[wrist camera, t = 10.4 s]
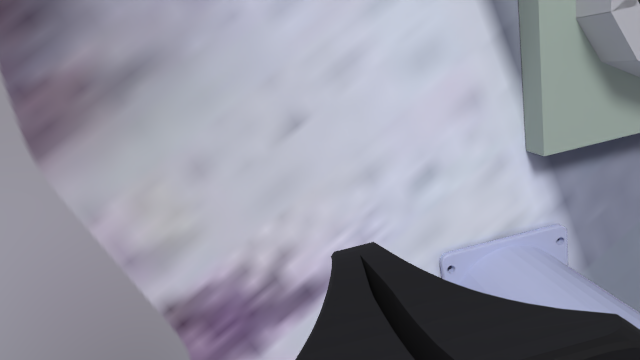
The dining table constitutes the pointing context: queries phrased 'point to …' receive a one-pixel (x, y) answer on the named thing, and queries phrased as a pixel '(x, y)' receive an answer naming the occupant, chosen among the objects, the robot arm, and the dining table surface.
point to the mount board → (579, 72)
